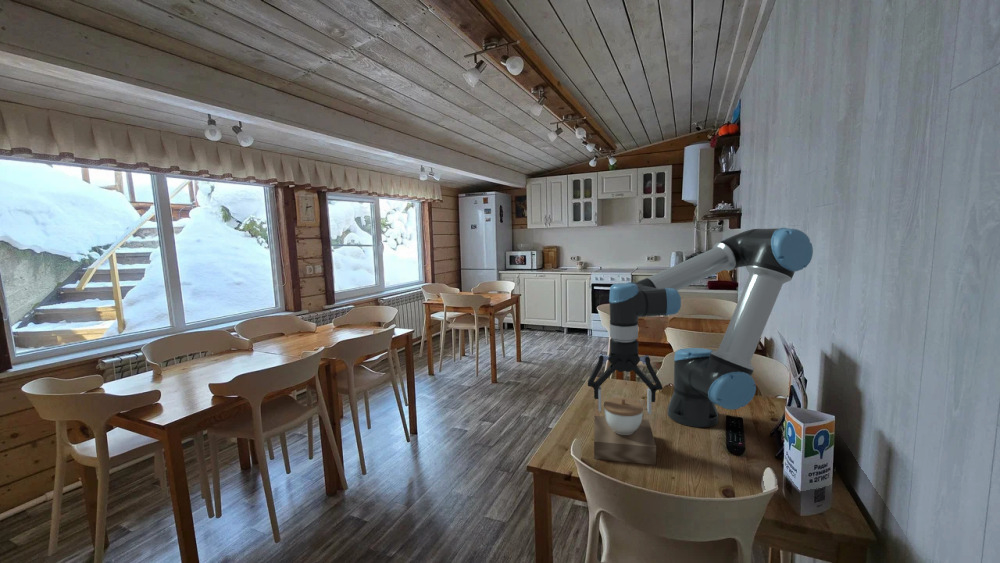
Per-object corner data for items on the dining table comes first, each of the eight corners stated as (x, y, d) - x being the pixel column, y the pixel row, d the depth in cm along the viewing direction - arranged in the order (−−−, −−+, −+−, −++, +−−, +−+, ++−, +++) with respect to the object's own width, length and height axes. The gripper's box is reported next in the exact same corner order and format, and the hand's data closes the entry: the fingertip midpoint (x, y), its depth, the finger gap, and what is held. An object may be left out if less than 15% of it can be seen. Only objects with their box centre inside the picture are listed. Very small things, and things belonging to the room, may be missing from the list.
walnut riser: (648, 435, 124) (648, 419, 123) (655, 464, 108) (656, 447, 108) (594, 430, 127) (594, 415, 127) (594, 458, 112) (594, 441, 111)
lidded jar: (637, 443, 110) (638, 409, 109) (598, 433, 115) (598, 402, 114) (646, 426, 119) (647, 395, 118) (610, 418, 125) (610, 389, 123)
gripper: (669, 336, 115) (668, 407, 117) (579, 334, 121) (580, 402, 123) (673, 343, 107) (673, 419, 110) (577, 341, 113) (579, 413, 116)
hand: (624, 411), depth 117 cm, fingers open, 13 cm apart
